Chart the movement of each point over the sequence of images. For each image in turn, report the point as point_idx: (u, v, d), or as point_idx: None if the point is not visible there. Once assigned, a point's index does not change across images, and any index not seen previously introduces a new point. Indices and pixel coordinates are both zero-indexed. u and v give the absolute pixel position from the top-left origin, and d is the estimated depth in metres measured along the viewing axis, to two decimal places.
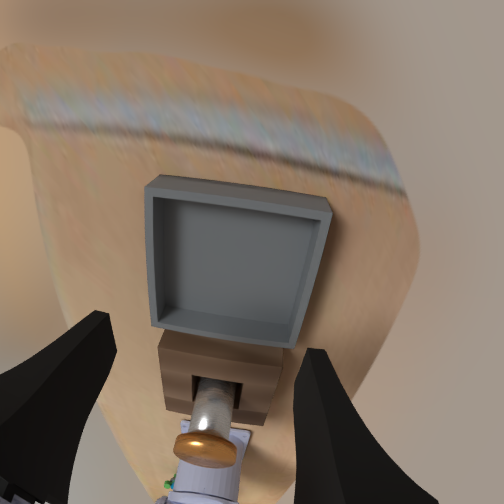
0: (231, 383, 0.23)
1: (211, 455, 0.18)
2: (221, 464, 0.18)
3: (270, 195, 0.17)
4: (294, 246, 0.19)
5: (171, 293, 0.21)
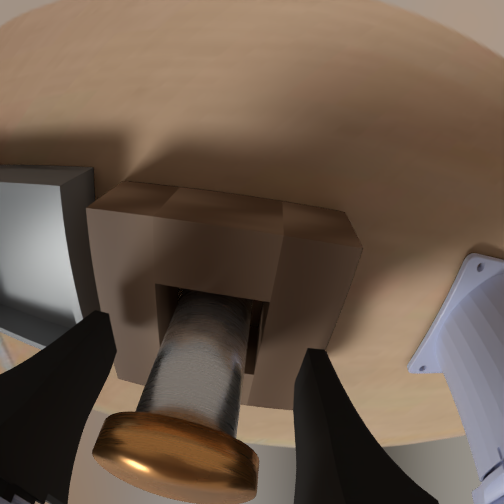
0: (185, 299, 0.11)
1: (143, 471, 0.06)
2: (203, 477, 0.06)
3: None
4: None
5: None
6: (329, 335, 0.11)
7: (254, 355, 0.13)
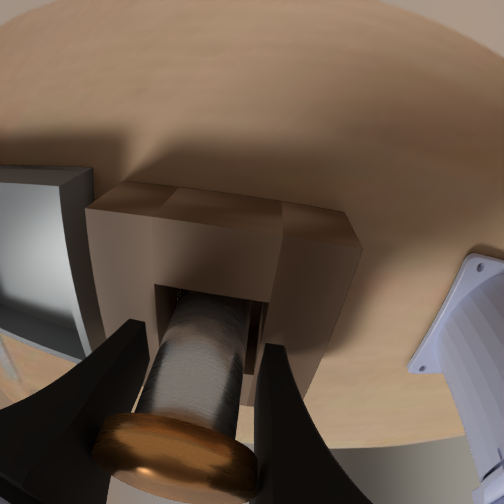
0: (184, 299, 0.11)
1: (142, 472, 0.06)
2: (202, 478, 0.06)
3: None
4: None
5: None
6: (329, 336, 0.11)
7: (253, 355, 0.13)
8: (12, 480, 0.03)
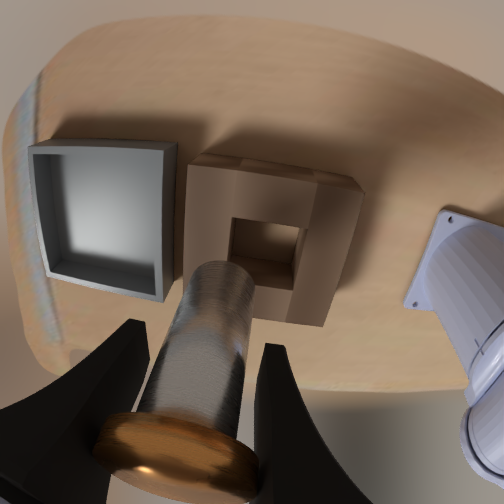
0: (186, 299, 0.11)
1: (143, 471, 0.06)
2: (203, 477, 0.06)
3: None
4: (79, 159, 0.17)
5: (148, 271, 0.21)
6: (345, 255, 0.17)
7: (291, 279, 0.19)
8: (12, 480, 0.03)
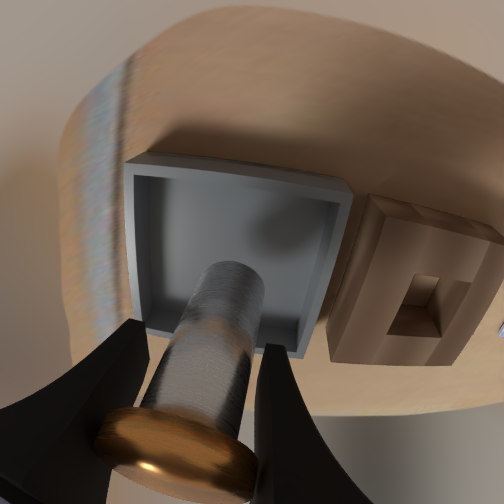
0: (195, 298, 0.11)
1: (142, 466, 0.06)
2: (200, 475, 0.06)
3: None
4: (200, 186, 0.15)
5: (277, 322, 0.18)
6: (489, 303, 0.14)
7: (434, 325, 0.16)
8: (11, 480, 0.03)
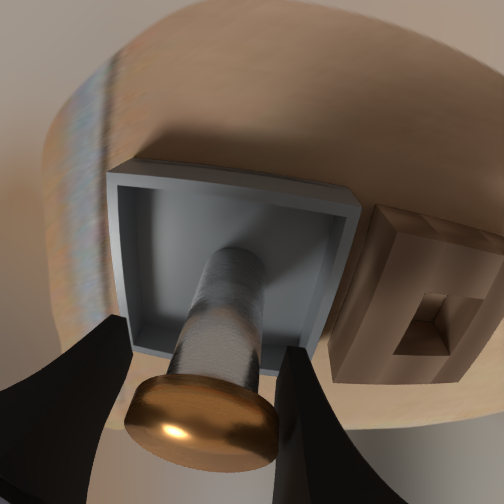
0: (205, 281, 0.12)
1: (174, 434, 0.07)
2: (232, 433, 0.07)
3: None
4: (192, 196, 0.13)
5: (276, 339, 0.17)
6: (500, 319, 0.13)
7: (442, 342, 0.15)
8: None
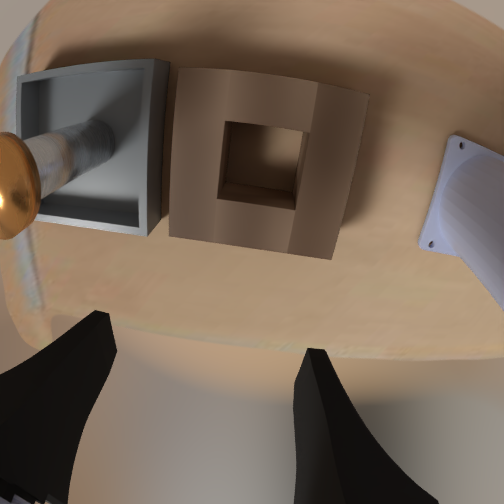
0: None
1: None
2: None
3: None
4: (68, 88, 0.15)
5: (133, 205, 0.19)
6: (353, 166, 0.14)
7: (293, 202, 0.17)
8: None
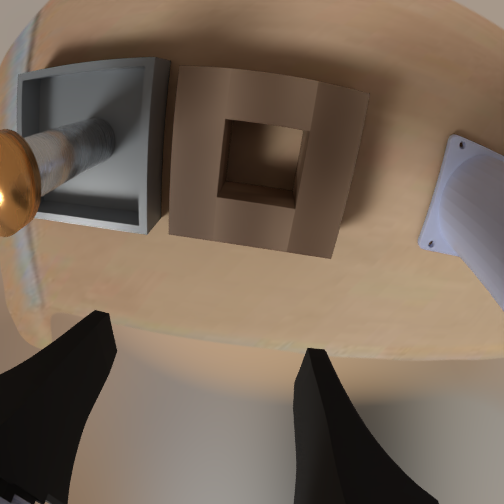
0: None
1: None
2: (0, 158, 0.08)
3: None
4: (68, 86, 0.15)
5: (133, 204, 0.19)
6: (353, 165, 0.14)
7: (293, 201, 0.17)
8: None
